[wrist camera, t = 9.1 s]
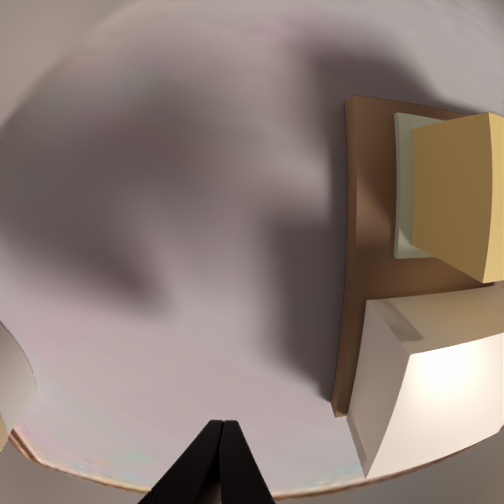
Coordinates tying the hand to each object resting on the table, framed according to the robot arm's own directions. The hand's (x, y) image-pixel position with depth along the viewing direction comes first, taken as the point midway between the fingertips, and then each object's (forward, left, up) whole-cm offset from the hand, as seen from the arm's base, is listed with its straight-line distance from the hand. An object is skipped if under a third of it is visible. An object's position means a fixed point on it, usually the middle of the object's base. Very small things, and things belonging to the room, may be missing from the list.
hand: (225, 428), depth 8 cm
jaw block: (-8, -7, -3) cm, 11 cm away
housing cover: (-8, 0, -3) cm, 9 cm away
